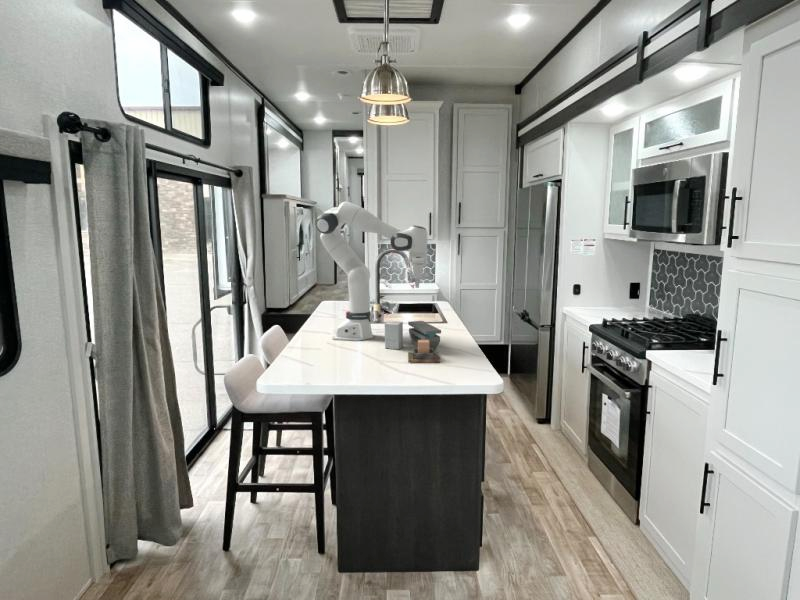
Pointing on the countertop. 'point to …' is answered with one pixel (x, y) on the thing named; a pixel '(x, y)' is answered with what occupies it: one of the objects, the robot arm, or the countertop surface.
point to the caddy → (423, 356)
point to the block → (423, 346)
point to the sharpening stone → (424, 333)
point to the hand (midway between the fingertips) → (417, 286)
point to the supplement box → (393, 335)
